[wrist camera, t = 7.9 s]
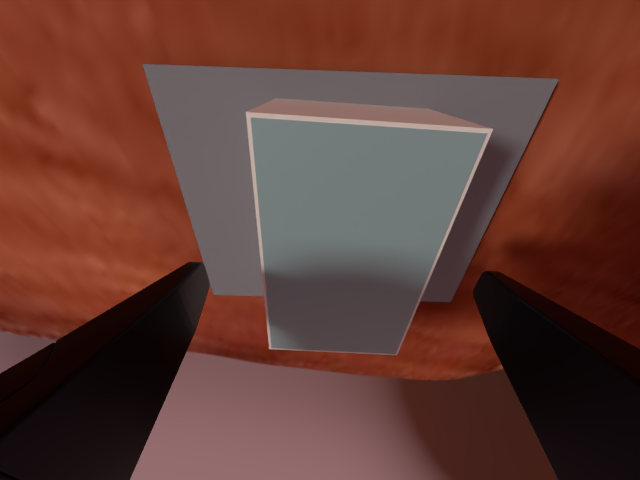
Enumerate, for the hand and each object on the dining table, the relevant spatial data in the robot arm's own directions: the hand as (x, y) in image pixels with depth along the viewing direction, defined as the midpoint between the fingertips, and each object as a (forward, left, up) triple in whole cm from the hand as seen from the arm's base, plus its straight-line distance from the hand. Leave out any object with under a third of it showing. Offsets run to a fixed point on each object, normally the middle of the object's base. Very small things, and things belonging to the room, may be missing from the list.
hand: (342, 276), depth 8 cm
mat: (0, 0, -4) cm, 4 cm away
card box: (0, 0, -4) cm, 4 cm away
